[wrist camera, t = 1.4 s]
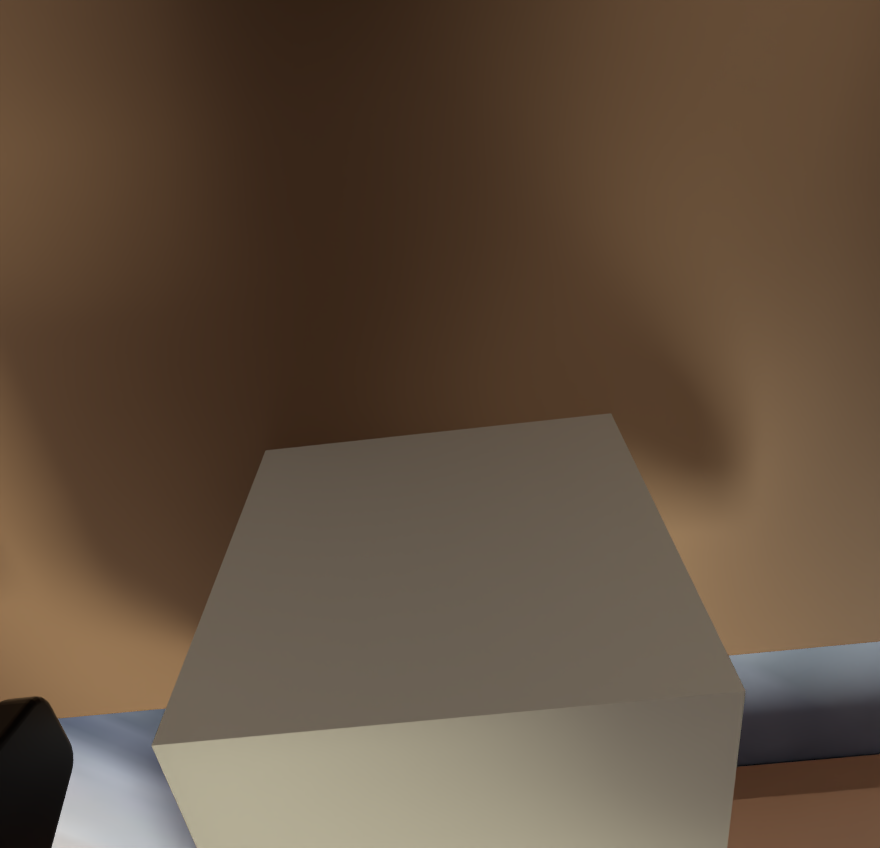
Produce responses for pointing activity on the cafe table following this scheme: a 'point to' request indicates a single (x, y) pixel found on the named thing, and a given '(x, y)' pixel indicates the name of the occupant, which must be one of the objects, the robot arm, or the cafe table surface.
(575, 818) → the cream cube
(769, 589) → the board
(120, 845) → the cafe table surface
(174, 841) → the cafe table surface
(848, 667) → the cafe table surface
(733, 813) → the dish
